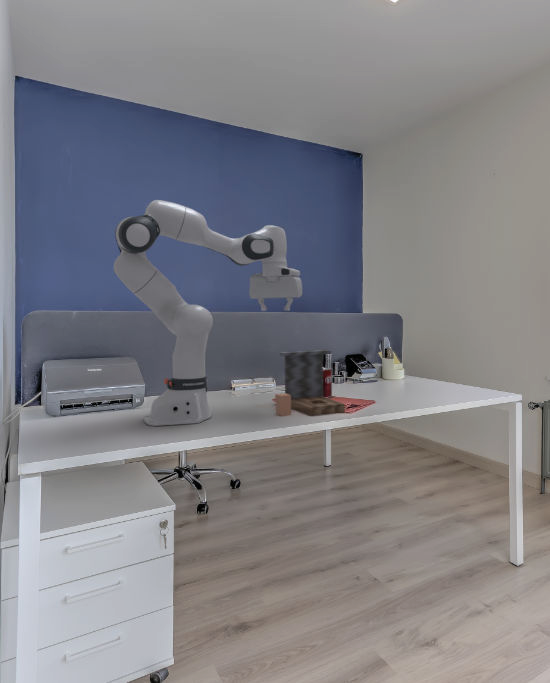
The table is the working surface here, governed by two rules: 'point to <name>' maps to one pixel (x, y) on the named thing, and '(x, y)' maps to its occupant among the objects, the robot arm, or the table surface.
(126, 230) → the robot arm
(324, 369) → the soda can
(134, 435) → the table surface
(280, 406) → the peg
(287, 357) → the socket block
